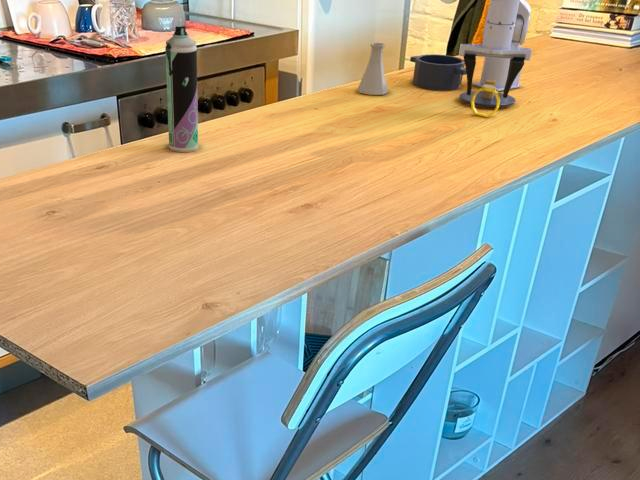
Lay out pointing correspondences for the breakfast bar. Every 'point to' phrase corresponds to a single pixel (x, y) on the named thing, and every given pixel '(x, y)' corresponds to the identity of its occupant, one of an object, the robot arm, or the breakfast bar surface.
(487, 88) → the yellow ring
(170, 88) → the spray can
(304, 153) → the breakfast bar surface
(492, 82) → the lid
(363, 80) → the flask
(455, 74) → the dark grey pot
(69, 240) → the breakfast bar surface
